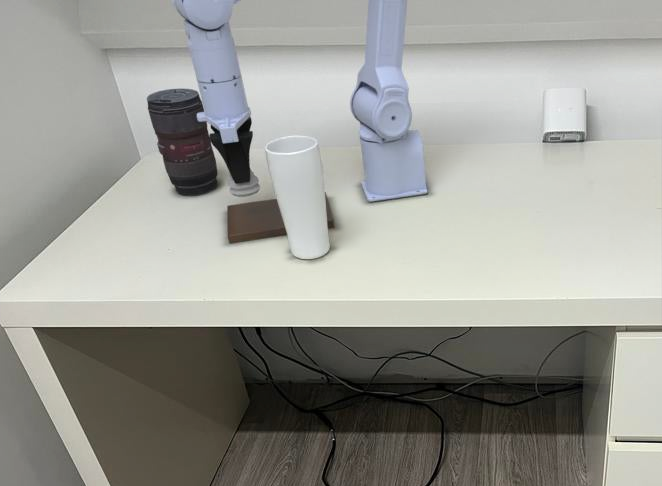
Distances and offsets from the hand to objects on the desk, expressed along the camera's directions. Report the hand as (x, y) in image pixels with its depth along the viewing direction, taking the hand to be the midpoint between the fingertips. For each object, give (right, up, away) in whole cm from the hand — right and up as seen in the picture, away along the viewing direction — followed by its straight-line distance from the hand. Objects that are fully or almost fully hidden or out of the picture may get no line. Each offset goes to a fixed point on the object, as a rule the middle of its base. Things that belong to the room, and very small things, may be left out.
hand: (242, 176), depth 106 cm
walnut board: (+4, -5, +5) cm, 8 cm away
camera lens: (-12, +3, +17) cm, 21 cm away
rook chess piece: (0, -2, +1) cm, 2 cm away
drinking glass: (+11, -12, -4) cm, 16 cm away
